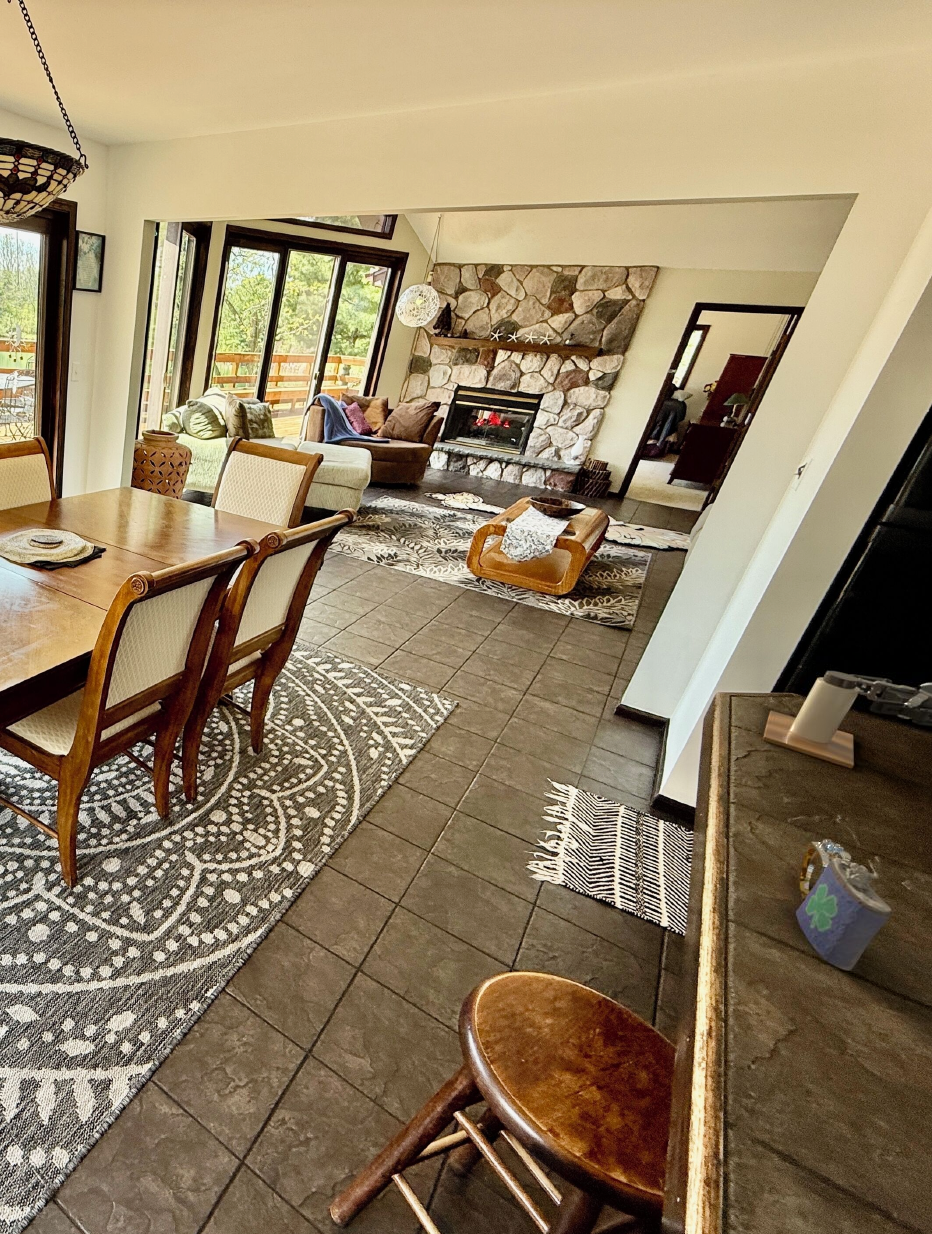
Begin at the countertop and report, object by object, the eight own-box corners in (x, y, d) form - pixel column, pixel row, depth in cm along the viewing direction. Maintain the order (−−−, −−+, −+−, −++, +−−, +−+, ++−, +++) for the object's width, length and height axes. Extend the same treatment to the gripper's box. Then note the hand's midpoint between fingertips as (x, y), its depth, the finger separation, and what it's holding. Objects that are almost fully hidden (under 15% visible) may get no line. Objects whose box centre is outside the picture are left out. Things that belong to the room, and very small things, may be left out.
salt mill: (821, 733, 119) (855, 673, 114) (836, 746, 114) (872, 685, 110) (784, 725, 121) (815, 666, 116) (797, 737, 116) (831, 677, 112)
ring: (781, 875, 83) (811, 824, 80) (816, 889, 81) (849, 837, 78) (785, 905, 78) (818, 851, 75) (823, 920, 76) (858, 866, 73)
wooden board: (851, 768, 109) (854, 764, 109) (762, 740, 116) (764, 736, 116) (851, 738, 119) (853, 734, 119) (769, 713, 126) (770, 710, 126)
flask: (853, 980, 68) (908, 901, 64) (815, 967, 69) (867, 889, 65) (817, 921, 76) (864, 848, 72) (783, 910, 77) (827, 838, 73)
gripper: (931, 670, 116) (827, 658, 119) (1020, 708, 103) (902, 693, 106) (908, 706, 119) (807, 694, 122) (992, 748, 106) (877, 733, 109)
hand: (851, 694), depth 114 cm, fingers open, 8 cm apart
